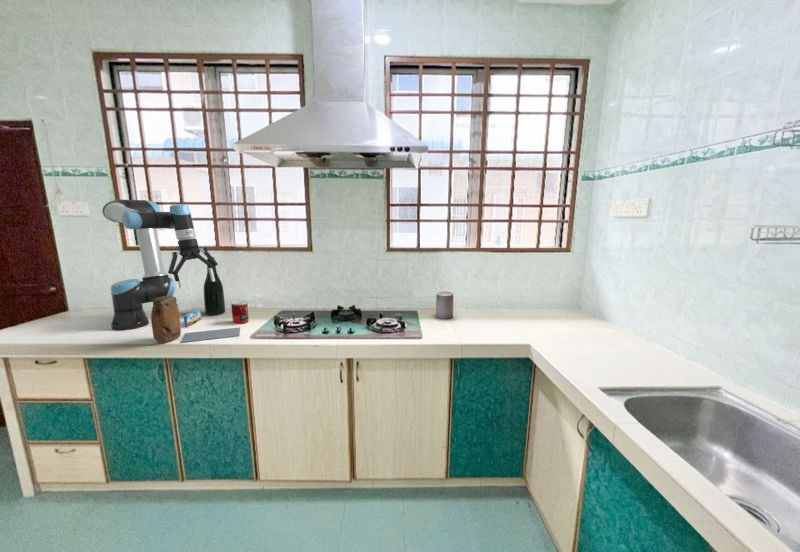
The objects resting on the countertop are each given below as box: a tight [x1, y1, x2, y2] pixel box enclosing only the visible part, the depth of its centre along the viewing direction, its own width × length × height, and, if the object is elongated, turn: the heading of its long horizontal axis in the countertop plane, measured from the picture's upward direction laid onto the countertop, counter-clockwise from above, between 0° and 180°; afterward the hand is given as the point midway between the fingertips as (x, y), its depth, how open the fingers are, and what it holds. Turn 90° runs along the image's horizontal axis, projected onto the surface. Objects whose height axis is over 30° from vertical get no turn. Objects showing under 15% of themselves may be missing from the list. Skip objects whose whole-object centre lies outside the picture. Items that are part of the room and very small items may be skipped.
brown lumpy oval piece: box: [150, 296, 182, 344], centre depth 157 cm, size 11×8×20 cm
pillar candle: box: [435, 291, 454, 320], centre depth 197 cm, size 10×10×15 cm
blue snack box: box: [183, 309, 202, 328], centre depth 181 cm, size 12×2×6 cm, turn 0°
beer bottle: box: [203, 256, 226, 317], centre depth 198 cm, size 10×10×33 cm
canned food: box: [231, 300, 250, 325], centre depth 184 cm, size 8×8×11 cm
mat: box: [179, 326, 241, 344], centre depth 165 cm, size 13×24×1 cm, turn 113°
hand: (197, 284), depth 160 cm, fingers open, 13 cm apart
